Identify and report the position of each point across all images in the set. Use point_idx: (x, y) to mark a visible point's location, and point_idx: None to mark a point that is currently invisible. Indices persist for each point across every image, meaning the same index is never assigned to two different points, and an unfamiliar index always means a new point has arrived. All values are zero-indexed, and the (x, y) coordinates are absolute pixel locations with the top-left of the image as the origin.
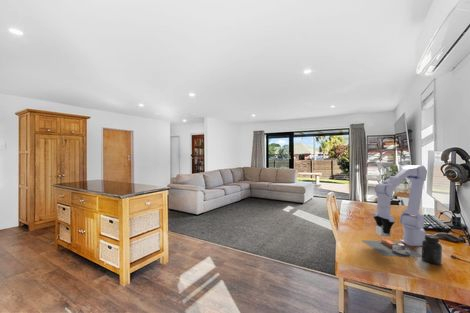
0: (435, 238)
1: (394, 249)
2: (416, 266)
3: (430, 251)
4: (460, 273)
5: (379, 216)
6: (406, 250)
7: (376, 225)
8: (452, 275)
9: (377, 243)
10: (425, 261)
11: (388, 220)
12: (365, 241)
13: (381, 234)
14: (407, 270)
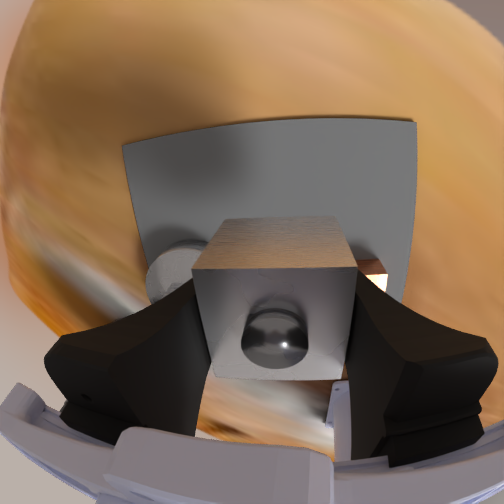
0: None
1: (174, 250)
2: (68, 254)
3: None
4: None
5: (391, 455)
6: None
7: (342, 262)
8: (61, 323)
9: (359, 218)
10: (117, 320)
11: (69, 415)
12: (393, 140)
13: (222, 229)
14: (27, 194)
